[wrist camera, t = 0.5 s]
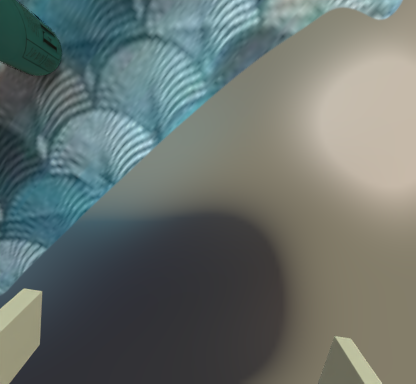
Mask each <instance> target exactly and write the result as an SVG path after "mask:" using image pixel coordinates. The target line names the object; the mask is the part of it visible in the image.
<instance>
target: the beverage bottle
mask: <svg viewBox="0 0 416 384" xmlns="http://www.w3.org/2000/svg"><path fill="white" fill-rule="evenodd" d="M19 3H20V2H19ZM19 3H18V2H17V1H16V0H0V61H1V62H3V63H6V64H5V65H7V64H8V65H7V66H9V65H10V66H12V67H15V69H16V68H17V70H18V69H19V70H18V71H20V72H21V71H23V72H26V73H28V74H30V76H31V75H32V76H33V75H36V76H40V75H47V74H49V73H51V72H53V71H54V70H55V69H56V68H57V67H58V65H59V63H60V61H61V56H62V50H61V45H60V43H59V41H58V40H59V39H57V37H56V36H57V35H55V34H54V33H53V32H52V31H51V30H52V29H49V28H48V27H47V25H44V24H45V23H44V24H43V23H42V22H41V21H42V20H41V19H40V20H41V21H40V20H38V19H39V18H38V17H37V16H36V15H35V14H34V13H33V14H34V15H35V16H36V17H37V18H38V19H37V18H36V17H35V16H34V15H33V14H32V13H30V12H29V10H27V9H25V8H24V7H23V4H22V5H21V4H19ZM10 66H9V67H10ZM13 69H14V68H13Z"/></svg>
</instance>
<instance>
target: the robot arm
mask: <svg viewBox="0 0 416 384" xmlns="http://www.w3.org/2000/svg"><path fill="white" fill-rule="evenodd" d="M41 303H42V291H36V290H30V289H23V290H22V291H20V292H19V293H18V294H17V295H16V296H15V297H13V298H12V299H11V300H10V301H9V302H8V303H7V304H5V305H4V306H3V307H2V308H1V309H0V384H9V383H10V382H11V380H12V379H13V378H14V377H15V375H16V374H17V373H18V371H19V370H20V369H21V368H22V366H23V365H24V364H25V362H26V361H27V360H28V359H29V357H30V356H31V355H32V353H33V352H34V351H35V350H36V348H37V347H38V346H39V344H40V326H41ZM318 384H382V383H381V381H380V380H379V378H378V377H377V375H376V374H375V373H374V371H373V370H372V368H371V367H370V365H369V364H368V363H367V361H366V360H365V358H364V357H363V355H362V354H361V353H360V351H359V350H358V348H357V347H356V345H355V344H354V343H353V341H352V340H351V339H349V338H342V337H336V336H335V337H334V340H333V343H332V346H331V348H330V351H329V354H328V357H327V360H326V362H325V365H324V368H323V371H322V374H321V377H320V379H319V383H318Z"/></svg>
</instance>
